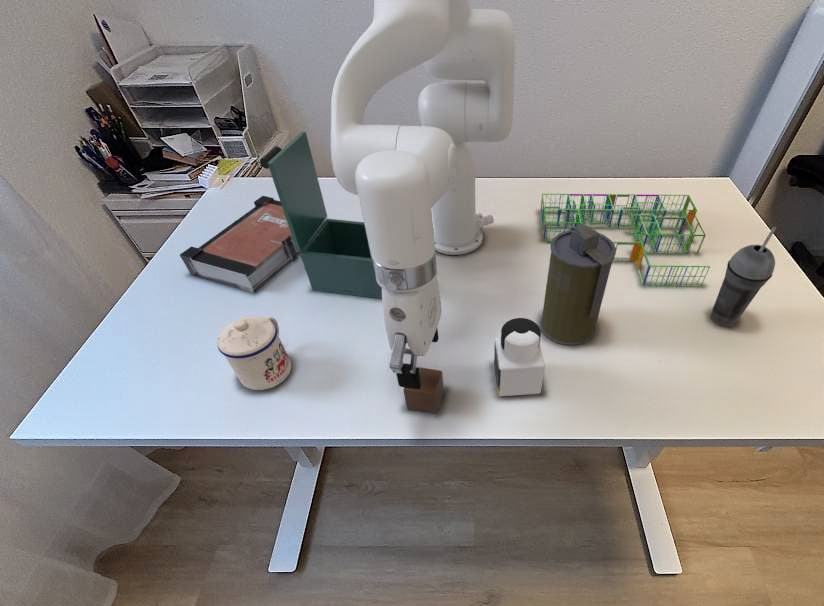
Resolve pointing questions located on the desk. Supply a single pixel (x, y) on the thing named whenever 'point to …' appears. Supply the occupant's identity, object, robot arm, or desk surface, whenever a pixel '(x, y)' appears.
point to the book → (246, 249)
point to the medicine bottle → (519, 358)
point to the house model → (638, 247)
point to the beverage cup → (743, 282)
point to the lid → (297, 188)
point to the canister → (576, 284)
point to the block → (426, 392)
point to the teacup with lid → (255, 351)
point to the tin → (341, 260)
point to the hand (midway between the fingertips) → (419, 362)
